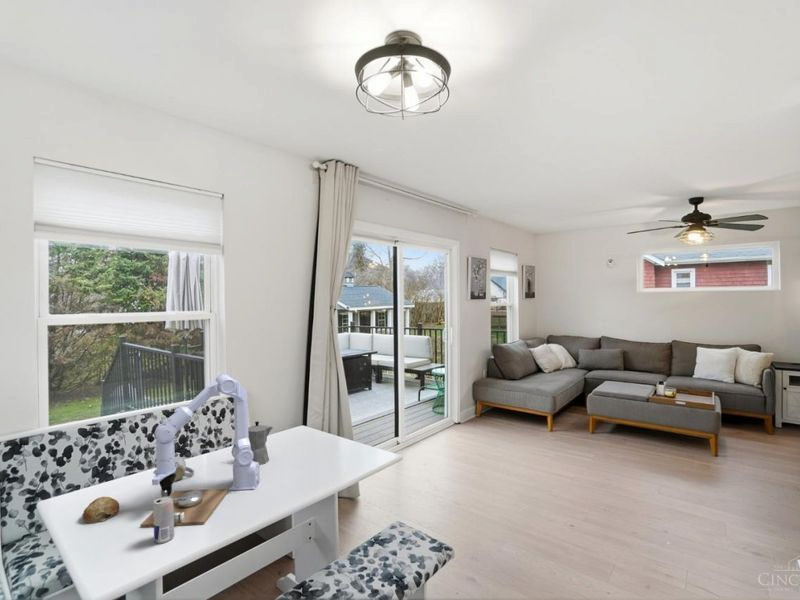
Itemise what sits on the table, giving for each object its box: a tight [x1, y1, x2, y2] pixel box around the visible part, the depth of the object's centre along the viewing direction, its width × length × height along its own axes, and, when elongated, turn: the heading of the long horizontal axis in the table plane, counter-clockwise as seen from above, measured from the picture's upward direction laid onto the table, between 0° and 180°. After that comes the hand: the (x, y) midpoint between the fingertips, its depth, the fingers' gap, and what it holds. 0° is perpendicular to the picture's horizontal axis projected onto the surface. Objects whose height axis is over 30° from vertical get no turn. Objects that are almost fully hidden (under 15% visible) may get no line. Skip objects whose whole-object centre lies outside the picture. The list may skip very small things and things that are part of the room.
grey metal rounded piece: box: [160, 489, 203, 508], centre depth 147 cm, size 14×8×5 cm, turn 98°
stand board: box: [140, 487, 230, 529], centre depth 146 cm, size 20×23×4 cm
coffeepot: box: [248, 420, 273, 466], centre depth 185 cm, size 15×9×18 cm, turn 103°
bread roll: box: [82, 496, 120, 524], centre depth 142 cm, size 10×10×8 cm
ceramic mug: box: [173, 456, 195, 482], centre depth 171 cm, size 11×8×8 cm
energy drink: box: [152, 496, 175, 544], centre depth 128 cm, size 5×5×12 cm
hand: (166, 495), depth 148 cm, fingers closed, pressing on grey metal rounded piece
